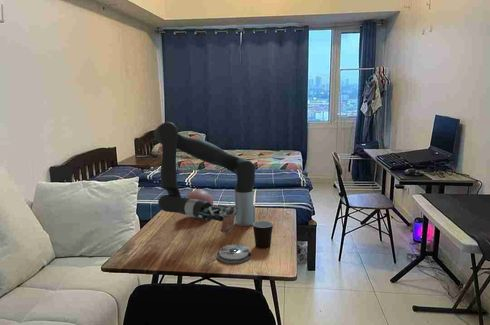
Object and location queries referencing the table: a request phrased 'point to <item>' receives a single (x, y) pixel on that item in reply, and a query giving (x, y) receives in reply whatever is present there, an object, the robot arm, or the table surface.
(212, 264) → the table surface
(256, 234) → the coffee mug
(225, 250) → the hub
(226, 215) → the lighter
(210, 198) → the balloon
